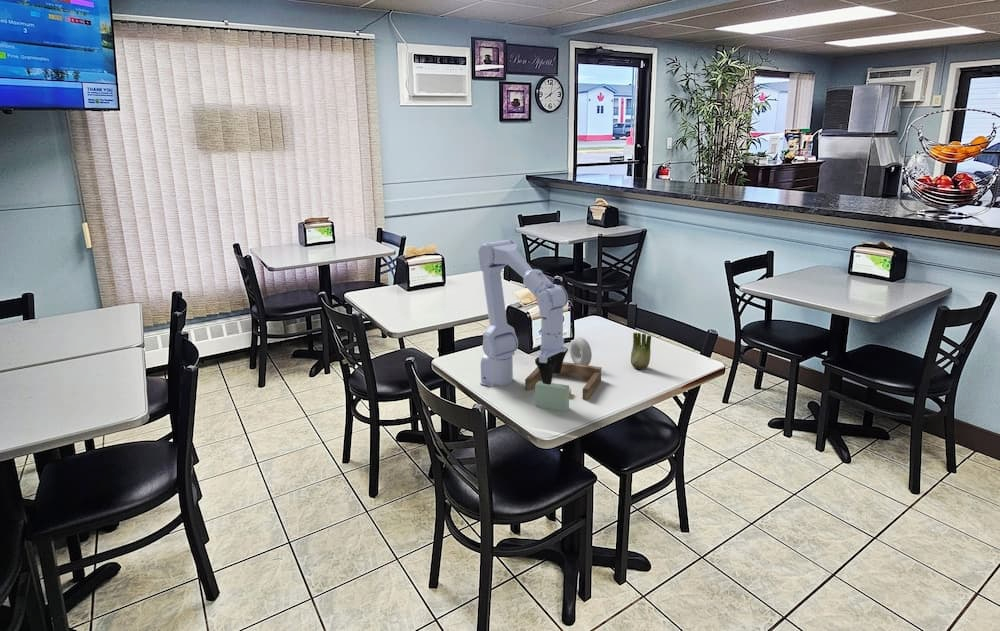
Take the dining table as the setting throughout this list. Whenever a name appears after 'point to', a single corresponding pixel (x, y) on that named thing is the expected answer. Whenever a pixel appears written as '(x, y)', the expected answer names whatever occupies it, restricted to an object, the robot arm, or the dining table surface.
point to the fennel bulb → (640, 351)
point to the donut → (585, 349)
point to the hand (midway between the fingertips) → (551, 378)
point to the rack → (572, 376)
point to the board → (552, 396)
